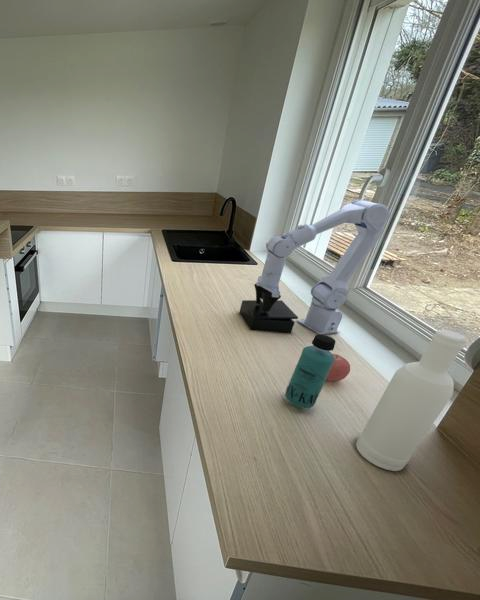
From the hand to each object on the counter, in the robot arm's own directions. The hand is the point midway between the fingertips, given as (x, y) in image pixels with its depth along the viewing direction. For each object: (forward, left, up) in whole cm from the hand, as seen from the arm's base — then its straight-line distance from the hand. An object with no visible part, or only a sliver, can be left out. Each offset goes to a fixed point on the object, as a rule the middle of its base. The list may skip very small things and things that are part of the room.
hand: (262, 307), depth 116 cm
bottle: (-55, +15, -6) cm, 57 cm away
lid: (-1, -2, -1) cm, 2 cm away
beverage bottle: (-39, +20, -6) cm, 44 cm away
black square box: (-1, -2, -6) cm, 7 cm away
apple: (-32, +3, -7) cm, 33 cm away
